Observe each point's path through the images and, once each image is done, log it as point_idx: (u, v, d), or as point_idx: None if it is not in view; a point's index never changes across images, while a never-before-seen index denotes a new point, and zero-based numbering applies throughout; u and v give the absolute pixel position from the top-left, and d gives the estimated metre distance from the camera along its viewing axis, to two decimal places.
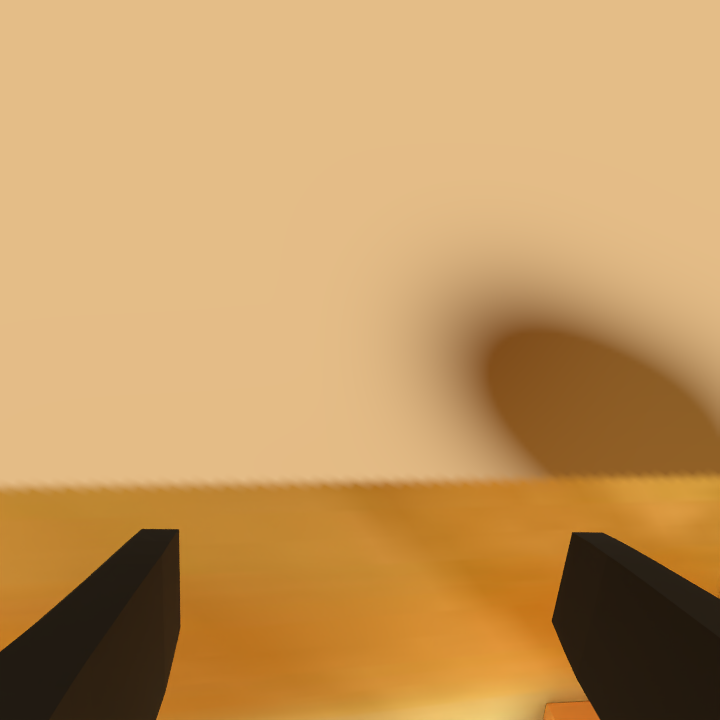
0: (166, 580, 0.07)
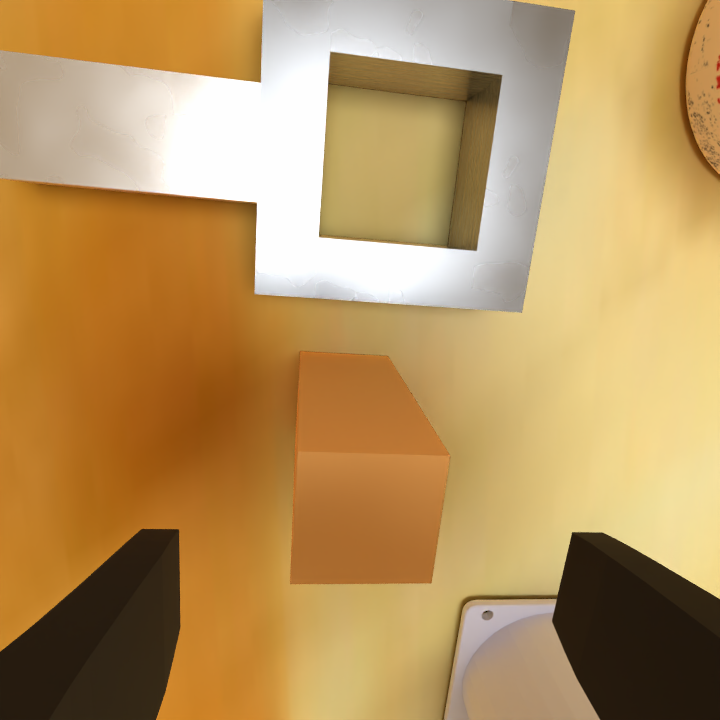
0: (166, 580, 0.07)
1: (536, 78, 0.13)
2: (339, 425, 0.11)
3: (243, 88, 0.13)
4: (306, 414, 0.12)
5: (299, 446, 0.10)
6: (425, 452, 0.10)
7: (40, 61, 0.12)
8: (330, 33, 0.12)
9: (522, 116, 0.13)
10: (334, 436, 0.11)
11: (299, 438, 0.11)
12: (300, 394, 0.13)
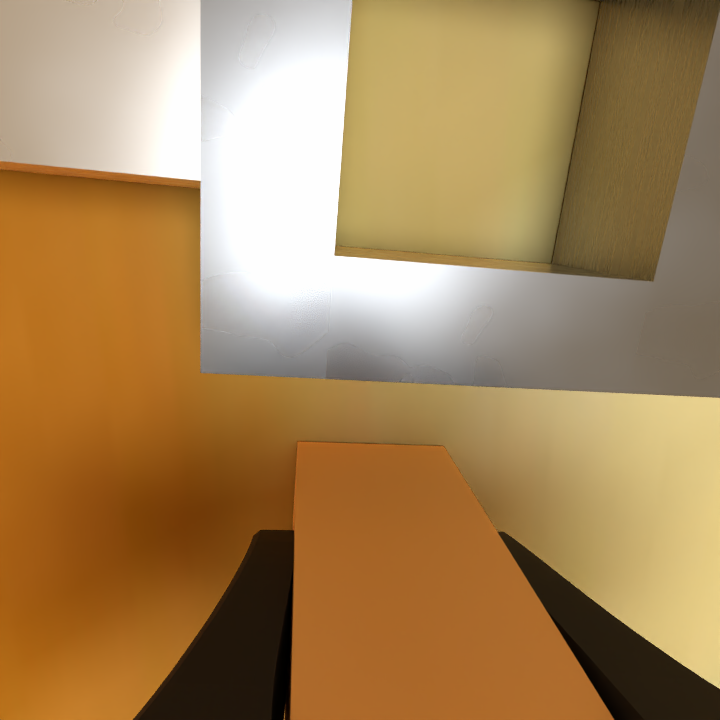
0: None
1: None
2: None
3: None
4: (310, 713, 0.05)
5: None
6: None
7: None
8: None
9: None
10: None
11: None
12: (295, 603, 0.06)
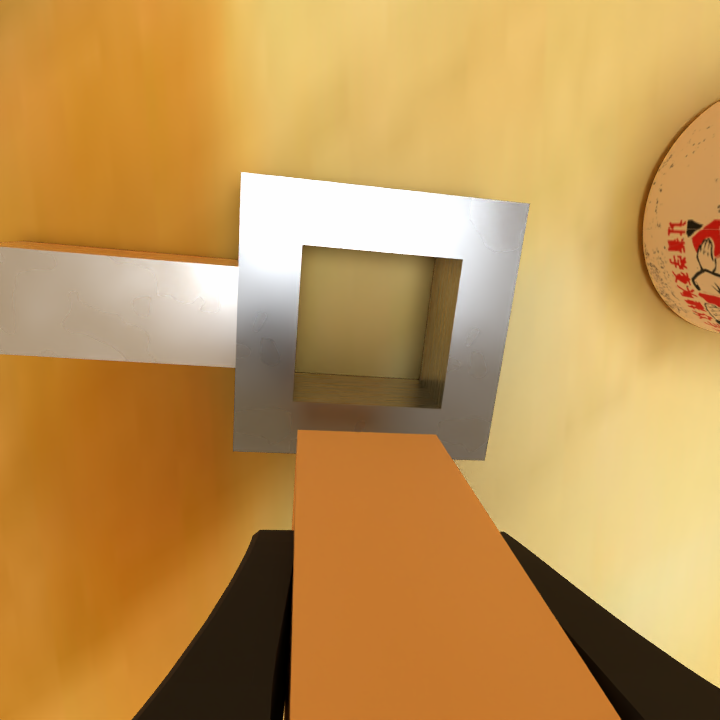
0: None
1: (494, 261, 0.14)
2: (389, 697, 0.05)
3: (222, 272, 0.14)
4: (309, 649, 0.05)
5: None
6: None
7: (35, 254, 0.13)
8: (302, 229, 0.13)
9: (482, 294, 0.14)
10: None
11: None
12: (296, 564, 0.07)
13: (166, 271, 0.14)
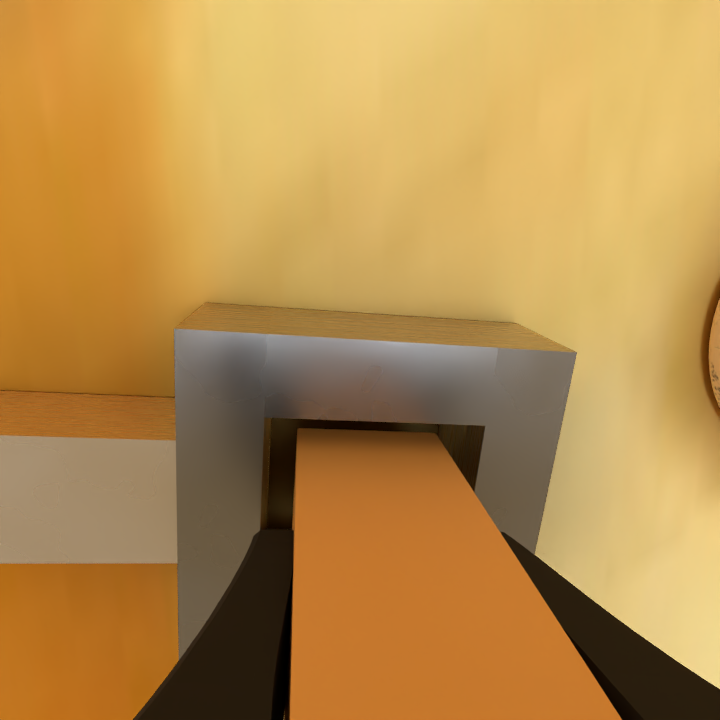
0: None
1: (528, 426, 0.10)
2: (389, 690, 0.05)
3: (157, 448, 0.10)
4: (309, 644, 0.05)
5: None
6: None
7: None
8: (263, 398, 0.10)
9: (510, 466, 0.11)
10: None
11: None
12: (296, 560, 0.07)
13: (79, 450, 0.10)
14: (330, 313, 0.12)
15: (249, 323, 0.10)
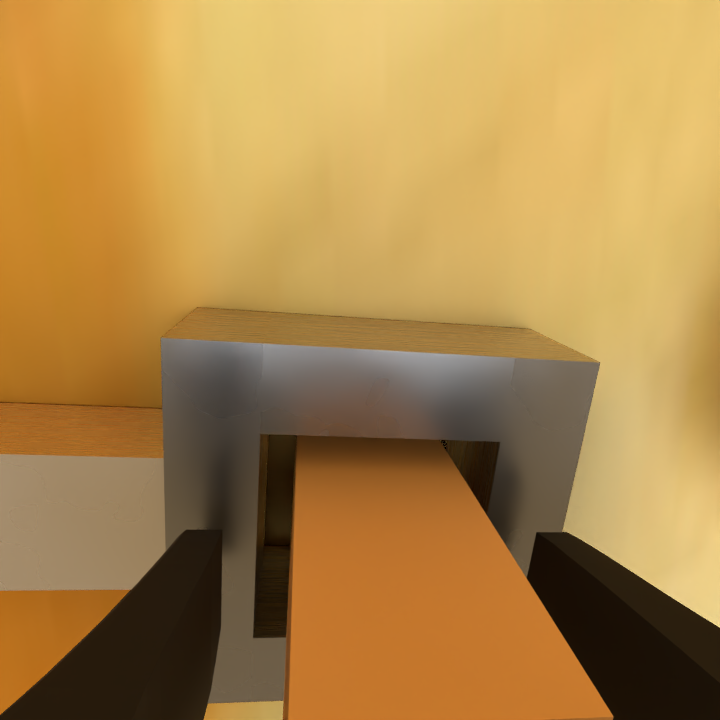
0: (213, 580, 0.08)
1: (546, 442, 0.10)
2: (372, 609, 0.06)
3: (144, 466, 0.09)
4: (307, 576, 0.06)
5: (291, 706, 0.05)
6: (558, 704, 0.05)
7: None
8: (259, 413, 0.09)
9: (527, 485, 0.10)
10: (364, 657, 0.05)
11: (292, 669, 0.05)
12: (296, 515, 0.08)
13: (58, 470, 0.09)
14: (332, 319, 0.11)
15: (244, 331, 0.09)
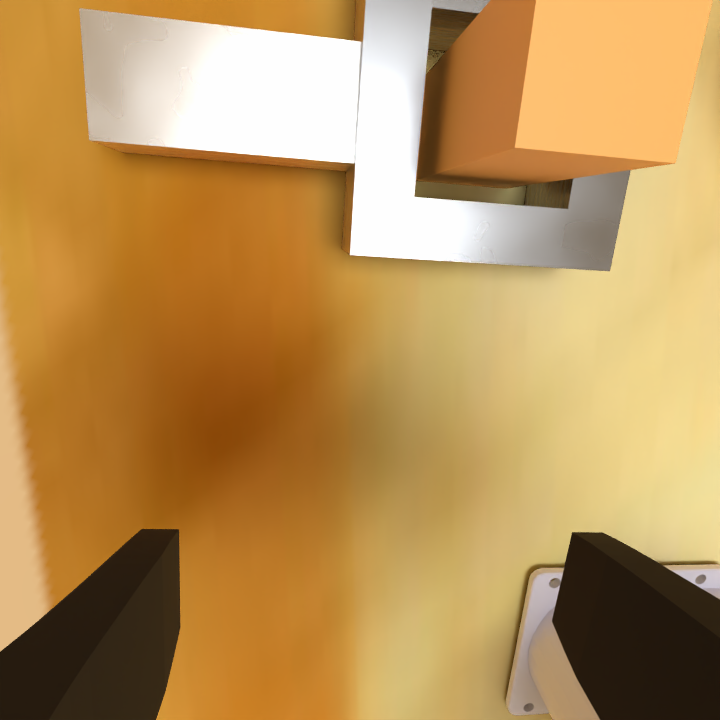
0: (166, 580, 0.07)
1: None
2: None
3: (342, 47, 0.13)
4: None
5: None
6: None
7: (145, 22, 0.12)
8: None
9: None
10: None
11: None
12: (476, 18, 0.11)
13: (283, 45, 0.13)
14: None
15: None
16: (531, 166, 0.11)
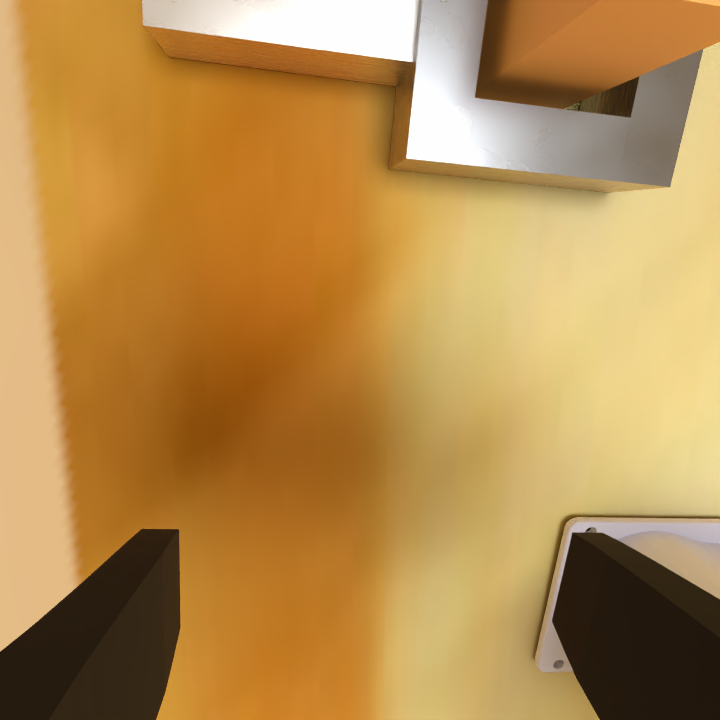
0: (166, 580, 0.07)
1: None
2: None
3: None
4: None
5: None
6: None
7: None
8: None
9: None
10: None
11: None
12: None
13: None
14: None
15: None
16: (611, 43, 0.11)
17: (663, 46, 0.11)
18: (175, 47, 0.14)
